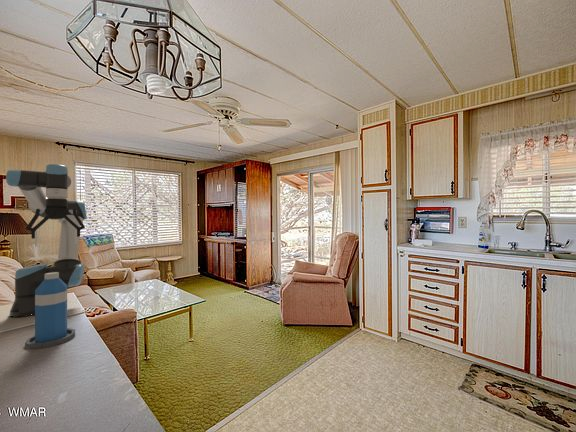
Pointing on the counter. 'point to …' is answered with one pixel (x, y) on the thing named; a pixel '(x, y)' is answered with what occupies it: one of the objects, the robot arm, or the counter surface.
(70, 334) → the coaster ring
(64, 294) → the water bottle
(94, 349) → the counter surface
